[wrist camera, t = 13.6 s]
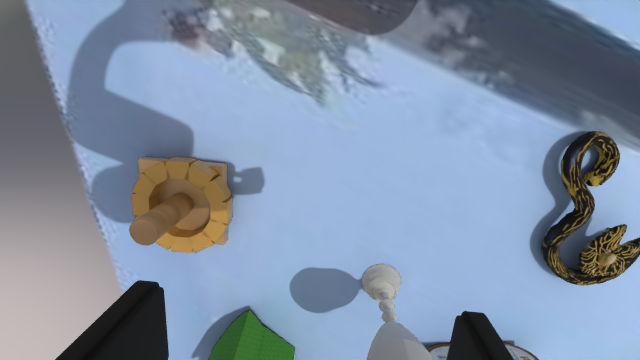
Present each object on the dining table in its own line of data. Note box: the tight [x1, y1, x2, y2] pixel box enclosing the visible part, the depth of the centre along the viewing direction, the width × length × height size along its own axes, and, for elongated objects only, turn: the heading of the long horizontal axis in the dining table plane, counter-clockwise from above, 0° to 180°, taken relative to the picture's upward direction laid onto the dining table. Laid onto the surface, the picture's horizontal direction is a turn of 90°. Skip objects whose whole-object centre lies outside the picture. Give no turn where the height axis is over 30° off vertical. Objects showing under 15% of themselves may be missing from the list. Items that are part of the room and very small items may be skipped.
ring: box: [131, 157, 233, 253], centre depth 37 cm, size 11×11×2 cm
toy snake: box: [541, 131, 640, 286], centre depth 36 cm, size 18×5×10 cm
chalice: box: [362, 264, 433, 360], centre depth 33 cm, size 7×7×18 cm
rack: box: [129, 157, 228, 245], centre depth 35 cm, size 10×10×10 cm
